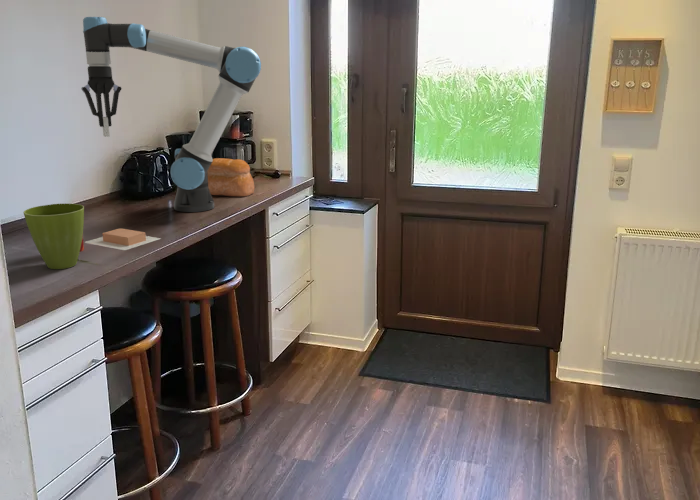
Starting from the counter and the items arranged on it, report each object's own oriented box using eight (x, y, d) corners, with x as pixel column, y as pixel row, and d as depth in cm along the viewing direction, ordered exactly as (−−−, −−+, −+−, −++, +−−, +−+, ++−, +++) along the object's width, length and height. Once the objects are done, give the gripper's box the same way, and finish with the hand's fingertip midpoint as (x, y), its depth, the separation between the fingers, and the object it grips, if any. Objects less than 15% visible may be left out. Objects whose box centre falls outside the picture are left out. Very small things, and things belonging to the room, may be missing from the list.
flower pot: (26, 276, 169) (17, 216, 164) (37, 259, 183) (29, 204, 178) (87, 271, 173) (80, 213, 168) (93, 255, 186) (86, 202, 182)
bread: (245, 198, 266) (243, 162, 262) (188, 195, 273) (186, 159, 269) (258, 192, 279) (256, 157, 275) (203, 189, 286) (201, 155, 281)
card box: (120, 228, 205) (145, 232, 200) (120, 236, 205) (146, 240, 200) (102, 233, 199) (128, 237, 194) (103, 241, 200) (128, 245, 195)
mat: (120, 233, 211) (120, 231, 211) (161, 240, 203) (161, 238, 203) (83, 244, 198) (82, 242, 198) (124, 252, 190) (124, 250, 190)
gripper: (116, 65, 223) (123, 134, 229) (76, 65, 216) (84, 136, 223) (121, 65, 216) (128, 136, 223) (80, 65, 210) (88, 138, 217)
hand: (106, 136), depth 223 cm, fingers closed
